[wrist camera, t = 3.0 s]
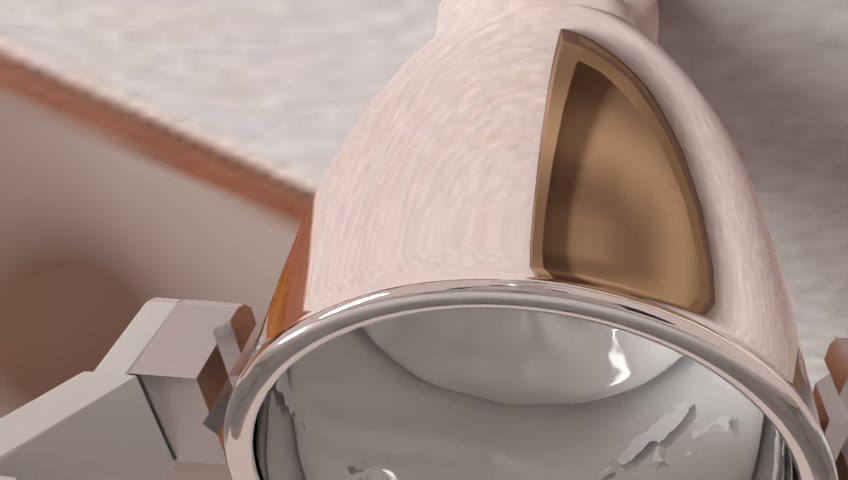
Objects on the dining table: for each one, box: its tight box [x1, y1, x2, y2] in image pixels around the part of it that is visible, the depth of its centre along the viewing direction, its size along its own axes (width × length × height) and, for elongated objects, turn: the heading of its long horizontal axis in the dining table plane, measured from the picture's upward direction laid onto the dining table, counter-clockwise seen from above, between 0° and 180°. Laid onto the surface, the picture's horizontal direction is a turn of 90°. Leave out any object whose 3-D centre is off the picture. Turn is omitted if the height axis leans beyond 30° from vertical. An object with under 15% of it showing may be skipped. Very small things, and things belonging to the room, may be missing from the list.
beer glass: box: [223, 0, 839, 480], centre depth 14 cm, size 7×7×15 cm
